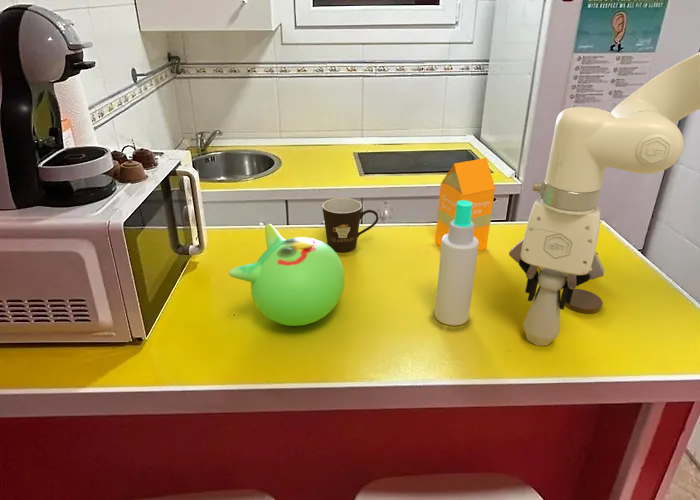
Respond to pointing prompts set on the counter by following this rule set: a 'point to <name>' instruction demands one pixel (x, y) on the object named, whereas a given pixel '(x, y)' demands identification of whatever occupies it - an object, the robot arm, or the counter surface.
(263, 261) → the toy bird
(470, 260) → the spray bottle
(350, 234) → the coffee mug
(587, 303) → the coaster
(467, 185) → the orange juice
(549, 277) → the salt shaker
